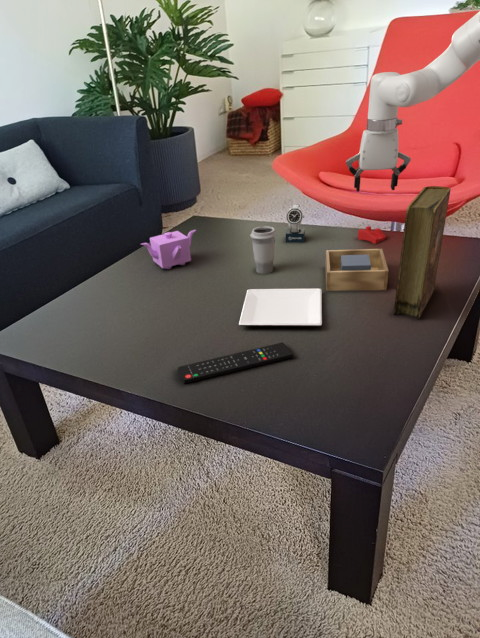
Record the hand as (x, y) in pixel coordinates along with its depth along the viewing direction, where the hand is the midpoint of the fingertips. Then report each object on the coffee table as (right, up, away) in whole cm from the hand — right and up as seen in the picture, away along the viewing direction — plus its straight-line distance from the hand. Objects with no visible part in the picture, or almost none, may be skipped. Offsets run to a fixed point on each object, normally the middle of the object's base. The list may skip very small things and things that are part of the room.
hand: (375, 189), depth 151 cm
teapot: (-59, -20, +8) cm, 62 cm away
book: (0, -37, -27) cm, 45 cm away
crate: (-10, -28, -13) cm, 33 cm away
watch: (-20, -11, +14) cm, 27 cm away
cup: (-32, -24, -3) cm, 40 cm away
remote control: (-43, -52, -41) cm, 79 cm away
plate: (-31, -39, -24) cm, 55 cm away
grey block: (-10, -28, -13) cm, 33 cm away
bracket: (+2, -12, +9) cm, 15 cm away
